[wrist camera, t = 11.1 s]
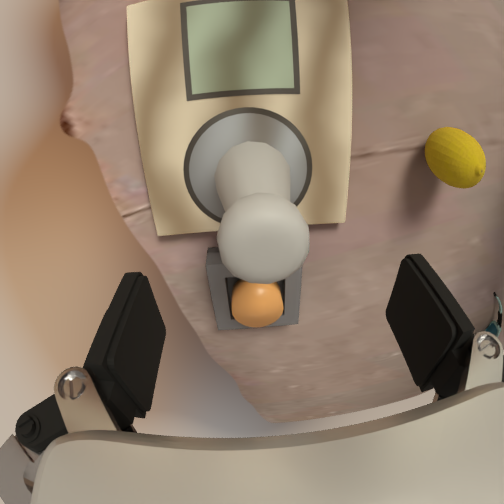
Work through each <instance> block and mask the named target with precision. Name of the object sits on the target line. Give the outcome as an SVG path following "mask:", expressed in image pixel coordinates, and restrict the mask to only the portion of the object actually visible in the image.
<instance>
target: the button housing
mask: <svg viewBox="0 0 504 504" xmlns="http://www.w3.org/2000/svg"><path fill="white" fill-rule="evenodd" d="M206 270H207V275H208V281H209V286H210V291H211V297H212V302H213V307H214V312H215V317H216V322H217V327H218V330H230V329H246V328H259V327H248V326H245V325H242V324H241V323H239V322H238V321H236V319H235V318H234V317H233V314H232V289H233V287H234V285H235V283H236V282H237V281H238V280H240V278H237V277H235V276H233V275H232V273H231V272H230V271H229V270H228V269H227V268H226V266H225V265H224V264H223V263H222V260H221V256H220V251H219V247H214V248H208V252H207V259H206ZM301 279H302V267H301V268H299V269H298V270H297V271H296V272H294V273H293V274H292V275H290V276H289V277H288V278H286V279H283V280H280V281H277V283H278V285H279V287H280V291H281V296H282V301H283V313H282V315H281V316H280V318H279V319H278V320H277V321H275V322H274V323H272V324H270V325H267V326H264V327H271V326H282V325H292V324H298V319H299V307H300V294H301Z"/></svg>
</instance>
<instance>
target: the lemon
mask: <svg viewBox="0 0 504 504" xmlns="http://www.w3.org/2000/svg"><path fill="white" fill-rule="evenodd" d="M425 158H426V161H427V164H428V166H429V168H430V170H431V171H432V172H433V173H434V174H435V176H436V177H437V178H439V179H440V180H441V181H443V182H445V183H446V184H448V185H450V186H453V187H457V188H470V187H473V186H475V185H476V184H477V183H478V182H480V180H481V179H482V177H483V175H484V173H485V168H486V159H485V155H484V152H483V150H482V148H481V146H480V145H479V143H478V142H477V141H476V140H475V139H474V138H473V137H472V136H470V135H469V134H467V133H466V132H464V131H462V130H460V129H457V128H452V127H444V128H439V129H437V130H436V131H434V132H433V133H432V134H431V135H430V136H429V138H428V139H427V142H426V145H425Z"/></svg>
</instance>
